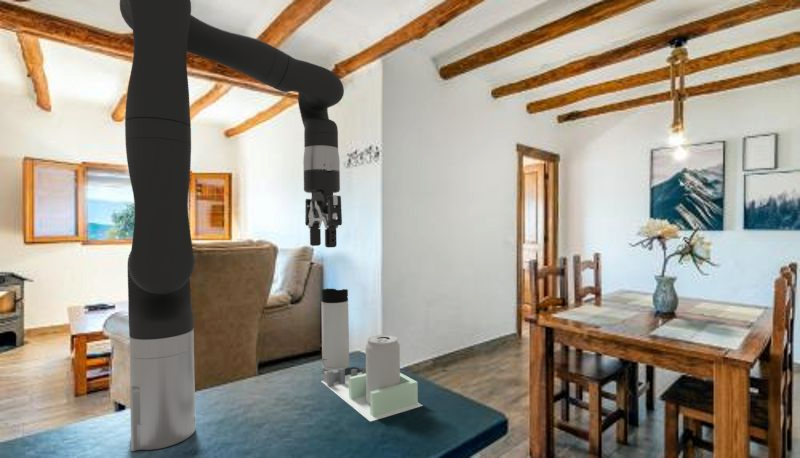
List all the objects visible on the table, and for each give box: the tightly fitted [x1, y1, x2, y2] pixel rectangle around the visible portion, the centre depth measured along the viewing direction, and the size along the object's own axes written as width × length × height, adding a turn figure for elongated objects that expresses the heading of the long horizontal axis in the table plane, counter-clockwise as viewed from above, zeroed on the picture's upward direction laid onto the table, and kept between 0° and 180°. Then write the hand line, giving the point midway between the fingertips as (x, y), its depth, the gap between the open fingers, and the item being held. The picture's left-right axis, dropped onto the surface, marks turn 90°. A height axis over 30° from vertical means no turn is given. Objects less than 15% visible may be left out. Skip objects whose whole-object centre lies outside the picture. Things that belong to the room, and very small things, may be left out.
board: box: [320, 365, 424, 422], centre depth 83 cm, size 11×22×4 cm, turn 33°
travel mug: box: [321, 288, 350, 373], centre depth 98 cm, size 6×7×20 cm
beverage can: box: [365, 334, 401, 403], centre depth 78 cm, size 6×6×12 cm
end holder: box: [349, 372, 419, 417], centre depth 79 cm, size 10×10×4 cm
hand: (322, 246), depth 88 cm, fingers open, 8 cm apart
